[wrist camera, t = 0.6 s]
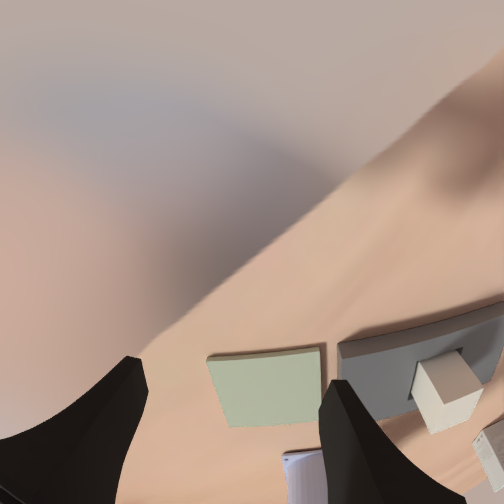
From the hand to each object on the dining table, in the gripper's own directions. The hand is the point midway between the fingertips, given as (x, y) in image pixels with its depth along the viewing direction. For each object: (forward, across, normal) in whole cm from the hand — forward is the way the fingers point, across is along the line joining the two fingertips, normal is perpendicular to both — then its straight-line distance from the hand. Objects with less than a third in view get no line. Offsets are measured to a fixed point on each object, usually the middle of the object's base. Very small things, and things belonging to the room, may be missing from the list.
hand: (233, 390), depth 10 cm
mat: (+9, -3, +11) cm, 15 cm away
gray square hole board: (+9, -17, +7) cm, 21 cm away
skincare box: (+7, -42, +25) cm, 49 cm away
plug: (+9, -17, +7) cm, 21 cm away
